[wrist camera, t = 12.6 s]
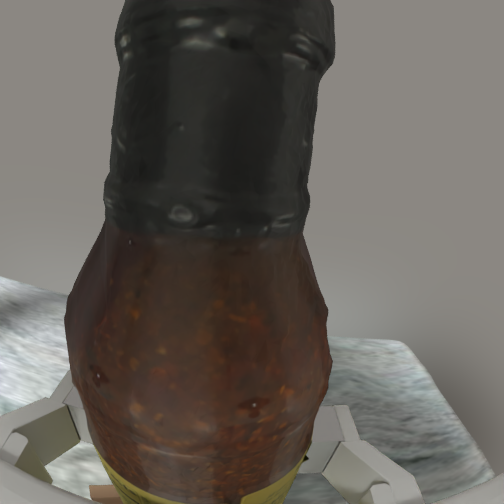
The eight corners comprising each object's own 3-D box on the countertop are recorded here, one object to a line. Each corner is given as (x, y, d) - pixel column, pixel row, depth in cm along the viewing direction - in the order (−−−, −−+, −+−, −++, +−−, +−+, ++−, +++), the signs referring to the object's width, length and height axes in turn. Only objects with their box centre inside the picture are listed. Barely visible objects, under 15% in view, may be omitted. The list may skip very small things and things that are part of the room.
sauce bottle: (242, 474, 15) (322, 70, 9) (278, 560, 9) (489, 32, 3) (129, 481, 12) (112, 36, 6) (143, 576, 7) (63, -102, 1)
